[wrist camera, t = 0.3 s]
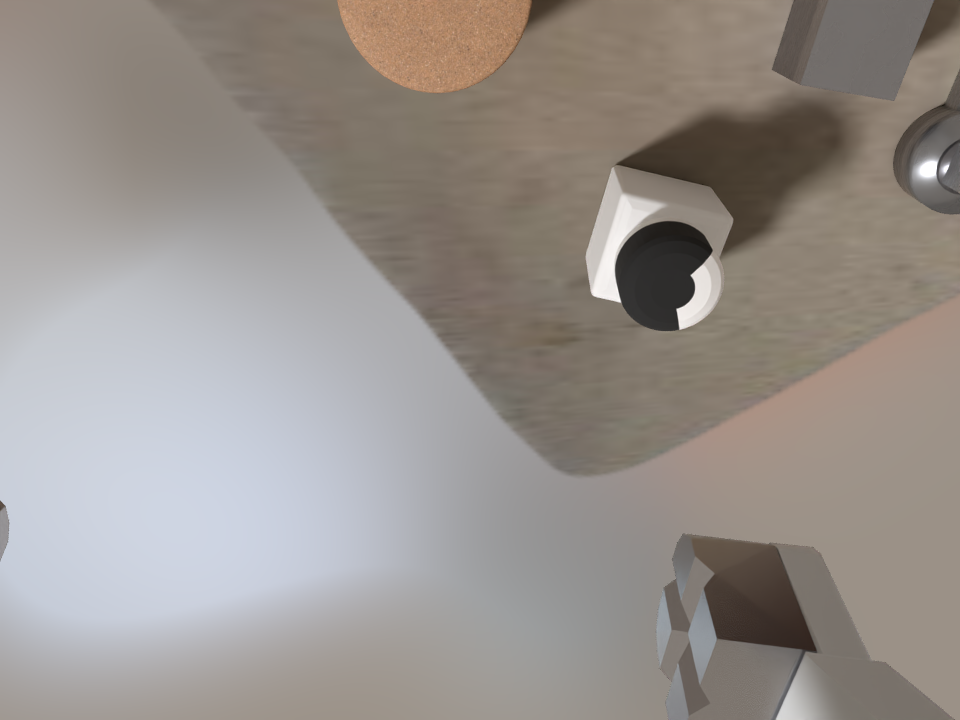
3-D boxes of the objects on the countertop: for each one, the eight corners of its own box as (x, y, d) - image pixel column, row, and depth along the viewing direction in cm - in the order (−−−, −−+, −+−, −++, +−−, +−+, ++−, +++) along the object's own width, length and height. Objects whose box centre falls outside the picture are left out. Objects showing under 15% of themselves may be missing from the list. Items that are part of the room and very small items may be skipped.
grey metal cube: (801, -25, 47) (835, -22, 41) (890, -10, 47) (935, -4, 42) (771, 69, 49) (800, 84, 44) (856, 84, 49) (894, 100, 44)
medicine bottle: (584, 258, 56) (594, 330, 46) (612, 162, 53) (631, 216, 42) (678, 279, 57) (710, 356, 46) (713, 186, 53) (756, 245, 43)
